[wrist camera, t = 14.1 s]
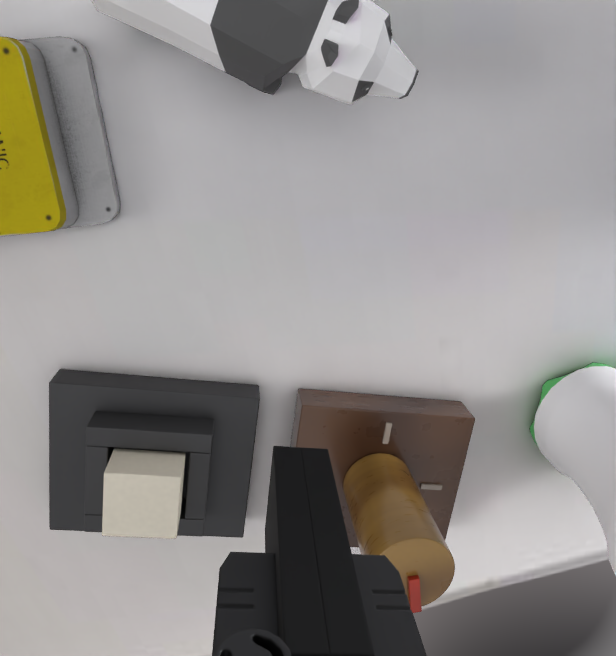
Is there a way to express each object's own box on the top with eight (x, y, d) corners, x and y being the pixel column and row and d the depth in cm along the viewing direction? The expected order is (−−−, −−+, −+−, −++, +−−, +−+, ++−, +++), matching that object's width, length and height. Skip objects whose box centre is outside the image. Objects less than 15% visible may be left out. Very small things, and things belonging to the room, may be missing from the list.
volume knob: (339, 458, 35) (367, 550, 27) (408, 447, 35) (456, 535, 28) (346, 517, 37) (374, 620, 29) (412, 506, 37) (458, 605, 29)
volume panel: (461, 401, 38) (476, 419, 35) (431, 527, 41) (443, 552, 38) (298, 388, 36) (302, 406, 34) (279, 520, 39) (281, 546, 37)
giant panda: (98, 19, 28) (32, -36, 19) (134, -98, 27) (80, -216, 18) (357, 143, 32) (402, 146, 23) (401, 44, 30) (468, 4, 21)
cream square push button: (185, 452, 33) (181, 477, 30) (181, 510, 34) (176, 539, 31) (114, 447, 32) (103, 472, 30) (111, 507, 33) (101, 536, 31)
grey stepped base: (258, 384, 36) (260, 413, 32) (243, 518, 39) (243, 559, 35) (59, 368, 34) (36, 397, 30) (59, 510, 37) (38, 552, 33)
